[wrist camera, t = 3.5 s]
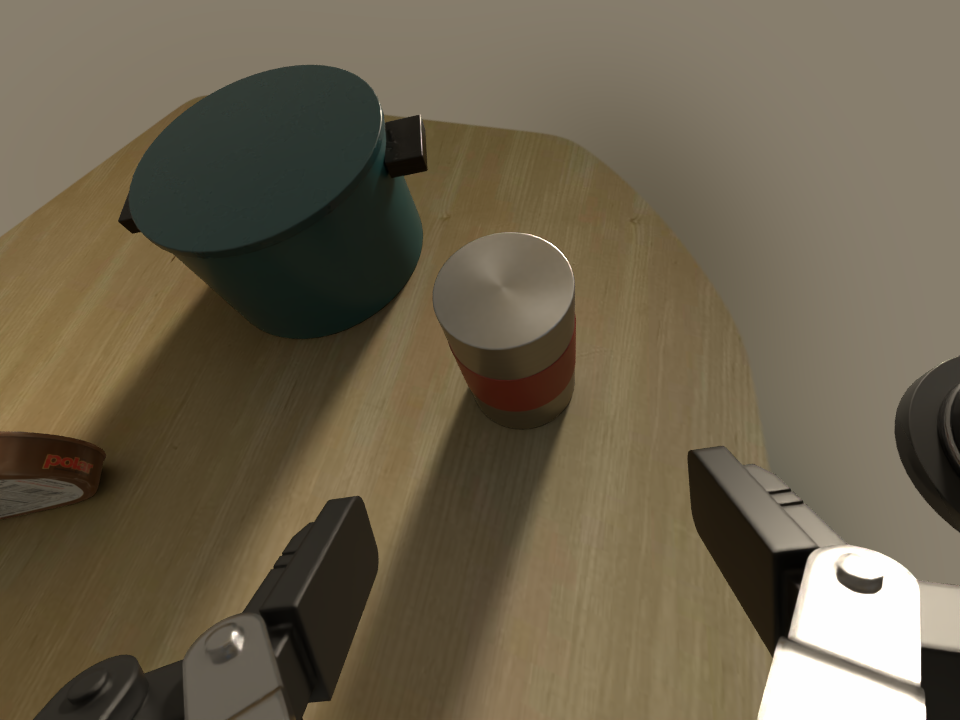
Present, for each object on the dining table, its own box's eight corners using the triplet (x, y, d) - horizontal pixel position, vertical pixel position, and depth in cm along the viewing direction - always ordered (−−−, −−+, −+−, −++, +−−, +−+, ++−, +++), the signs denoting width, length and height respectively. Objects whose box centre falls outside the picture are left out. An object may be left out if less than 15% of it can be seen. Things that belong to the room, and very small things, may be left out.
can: (565, 329, 31) (561, 219, 22) (584, 421, 28) (589, 336, 19) (468, 345, 32) (428, 245, 23) (476, 437, 29) (434, 362, 20)
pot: (445, 157, 41) (410, 34, 32) (459, 316, 33) (417, 210, 24) (225, 204, 43) (137, 102, 34) (188, 364, 35) (62, 283, 26)
